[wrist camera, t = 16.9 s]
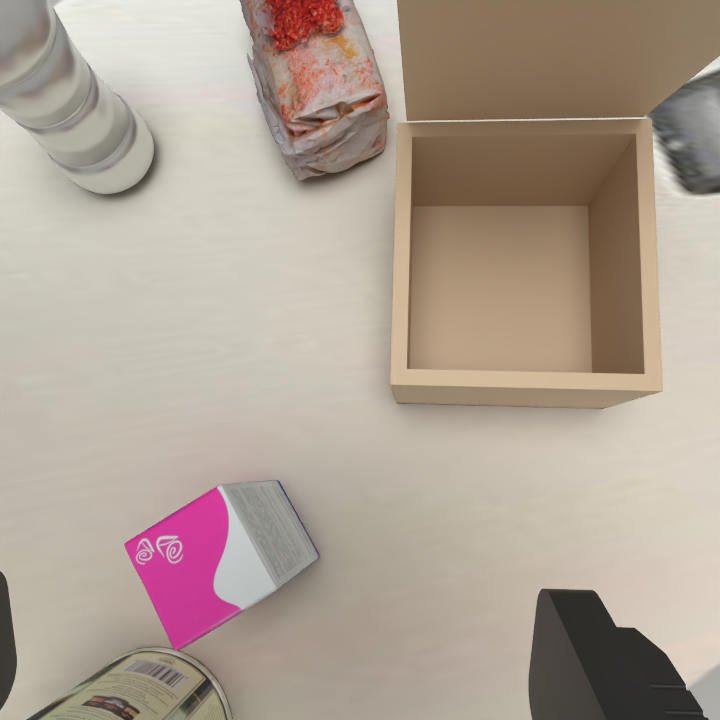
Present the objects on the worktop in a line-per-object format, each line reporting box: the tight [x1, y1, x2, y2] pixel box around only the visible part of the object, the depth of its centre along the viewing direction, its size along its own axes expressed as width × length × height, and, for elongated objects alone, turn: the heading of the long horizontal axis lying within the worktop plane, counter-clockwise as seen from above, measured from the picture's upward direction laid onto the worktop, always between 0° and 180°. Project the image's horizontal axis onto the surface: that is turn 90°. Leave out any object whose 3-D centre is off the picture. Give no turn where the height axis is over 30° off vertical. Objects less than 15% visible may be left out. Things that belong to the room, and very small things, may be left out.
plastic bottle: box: [0, 0, 154, 194], centre depth 36 cm, size 6×7×20 cm
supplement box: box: [124, 480, 320, 651], centre depth 35 cm, size 6×6×12 cm
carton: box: [390, 119, 663, 409], centre depth 37 cm, size 13×14×10 cm
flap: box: [397, 0, 720, 121], centre depth 22 cm, size 12×21×1 cm
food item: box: [240, 0, 389, 181], centre depth 40 cm, size 14×8×10 cm, turn 20°
